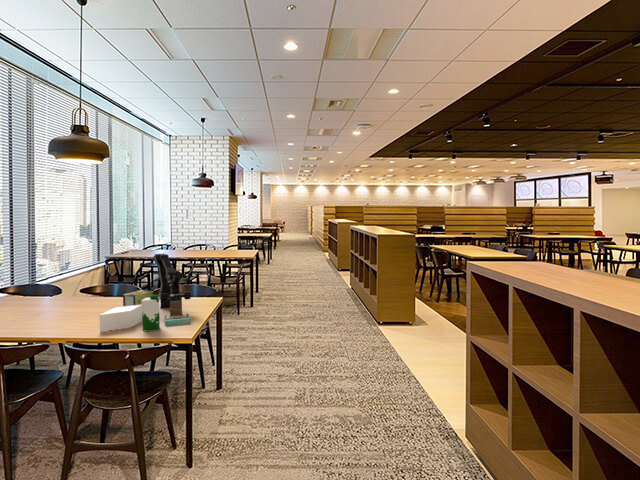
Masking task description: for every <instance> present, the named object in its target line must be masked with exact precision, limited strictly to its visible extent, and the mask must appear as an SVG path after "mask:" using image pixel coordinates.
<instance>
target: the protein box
mask: <svg viewBox="0 0 640 480" xmlns="http://www.w3.org/2000/svg"><path fill="white" fill-rule="evenodd" d="M153 292H154V291H153V290H146V289H145V290H144V289H140V290H136V291H133V292H129V293H124V294H122V301H123V302H122V307H125V306H133V305H140V304H142V302H141V301H142V300H143V299H145V298H150V296H151V295H154V294H153Z"/></svg>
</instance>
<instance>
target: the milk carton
mask: <svg viewBox="0 0 640 480" xmlns="http://www.w3.org/2000/svg"><path fill="white" fill-rule="evenodd" d="M141 302H142V321H141V322H142V331H144V330H148V331H147V332H150V331H149V330H156V331H157V330H158V329H159V328H160V325H161V324H160V323H161V322H160V321H161V320H160V299H159V297H158V294H153V295H151V296H150V298H145V299H143V300H142V301H141ZM144 332H145V331H144Z"/></svg>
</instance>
